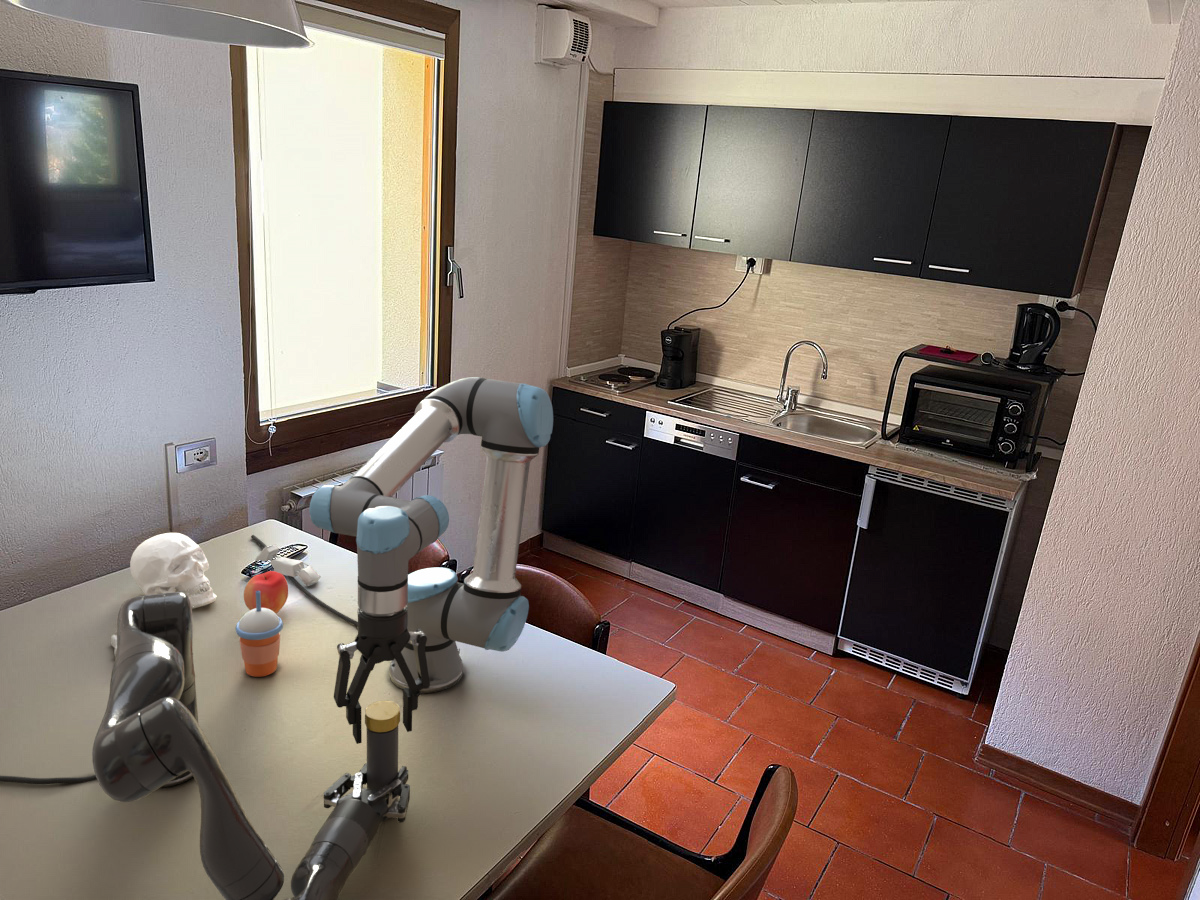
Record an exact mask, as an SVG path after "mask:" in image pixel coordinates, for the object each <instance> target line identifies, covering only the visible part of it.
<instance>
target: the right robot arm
mask: <svg viewBox="0 0 1200 900" xmlns="http://www.w3.org/2000/svg"><path fill="white" fill-rule="evenodd" d="M553 427H554V409H553V404H552V401H551V398H550V395H549V394H548V392H547V391H546V390H545V389H543V388H541V387H539V386H535V385H532V384H527V383H519V382H512V381H505V380H498V379H490V378H485V377H480V376H479V377H478V376H473V377H472V376H470V377H463V378H460V379H457V380H453V381H451V382H449V383H447V384H445V385H442V386H441V387H439V388H437V389H435V390H434V391H432V392H431V393H430V394H428V395H427V396H426V397H424V398H423V399H422V400H421V401H420V402H419V403H418V404H417V405H416V408H415V410H414V415H413V416H412V417H411V418H410V419H409V420H408V421H407V422H406V423H405V424H404V425H403V426H402V427H401V428H400V429H399V430H398V431H397V432H396V433H395V434H393V436H392V437H391V438H390V439H388V440H387V442H385V444H384V445H382V446H381V447H380V448H379V449H378V450H377V451H376V452H375V453H374V454H373V455H372V456H371V457H370V458H369V459H368V460H367V461H365V463H364V464H363V465H362V466H361V467H359V469H358V470H356V472H354V474H352V476H350V478H349V479H347V480H346V481H345V482H344V483H343V484H342V485H340V486H339V485H337V484H333V485H332V484H325V485H320V486H319V487H318V488H317V489H316V490H315V491H314V493H313V494H312V496H311V499H310V501H309V502H310V503H309V508H308V509H309V510H308V511H309V512H308V515H309V516H310V517H309V518H310V521H311V523H312V524H313V526H315V527H316V528H318V529H322V530H325V531H328V532H330V533H334V534H339V535H345V536H351V537H356V538H355V542H356V553H357V606H358V608H357V620H356V619H353V618H352V617H349V616H347V615H346V614H344V613H342V612H340V611H338V610H336V609H335V608H333V607H332V606H329V604H327V603H326V602H324V601H322V600H321V599H319V598H317V597H316V596H315V595H314V594H312V593H311V592H310V591H309V590H307V589H306V588H305V587H304V586H303V585H302V584H301V583H300V582H299V581H298V580H297V579H296V578H295V577H292V576H287V575H285V576H286V577H287V579H288V580H289V581H290V582H291V583H293V585H294V586H295V587H296V588H297V589H298V590H300V591H301V593H303V594H304V595H305V596H307V598H309V599H310V600H312V601H313V602H315V604H317V605H319V606H320V607H322V608H323V609H324V610H326V611H328V612H329V613H331V614H333V615H334V616H336V617H338V618H340V619H342V620H343V621H345V622H347V623H349V624H351V625H353V626H355V627H357V634H356V637H355V638H354V641H353V642H349V643H347V644H345V643H343V642H339V643H338V644H337V645H336V649H337V653H338V662H337V663H338V664H337V671H336V676H335V684H334V685H335V686H334V690H333V699H334V702H335V704H336V707H337V708H339V709H340V708H343V707H345V718H346V722H347V723H348V725H349V726H351V725H352V737H353V738H354V740H355V743H356V744H357V745H358V744H362V741H363V740H362V735H363V734H362V706H361V703H360V701H359V700H360V698H361V695H362V694H363V691H364V688H365V686H366V684H367V681H368V679H369V677H370V674H371V672H372V671H373V670H374V669H375V666H376V665H378V664H381V663H383V662H390V665H389V679H390V681H391V682H392V683H393V684H394V685H395V686H396V687H398V688H399V689H401V690H402V724H403V726H404V728H405V730H406V733H409V732H412V731H413V711H417V710H418V708H419V697H420V696H421V694H430V693H431V694H432V693H438V692H441V691H445V690H447V689H450V688H451V687H453V686H455V685H456V684H457V683H458V682H459V681H460V680H461V679H462V676H463V672H464V664H463V660H462V657H461V656H460V653H461V648H459V649H458V646H457V642H458V643H462V644H465V645H469V646H474V647H478V648H482V649H484V650H485V651H490V650H491V651H496V652H506V651H509V650H510V649H511V648H513V647H514V646H515V644H516V643H517V641H518V640H519V638H520V636H521V635H522V632H523V630H524V628H525V625H526V623H527V619H528V615H529V610H530V604H529V599H528V598H527V597H525V596H524V595H521V593H522V591H521V590H522V584H521V582H520V581H519V580H518V579H517V577H516V574H517V573H516V572H517V564H518V557H519V549H520V541H521V535H522V525H523V519H524V511H525V504H526V497H527V488H528V480H529V473H530V465H531V461H532V460H534V459H535V458H536V457H538V456H539V453H540V449H541V448H545V447H546V446H547V445H548V444H549V442H550V440H551V435H552V434H553V430H554V429H553ZM460 435H472V436H477V437H481V442H480V443H481V444H480V448H481V450H482V451H483V452H484V454H485V455H486V462H485V470H484V480H483V487H482V495H481V496H482V497H481V502H480V503H481V504H480V512H479V519H478V528H477V536H476V544H475V553H474V560H473V568H472V572H471V573H470V574H468V575H467V576H466V577H464V579H463V583H462V582H458V580H459V579H458V578H459V577H458V575H457V573H456V572H455V571H454V570H453V569H450V568H448V567H427V568H421V569H418V570H414V571H413V572H410V573H409V561H410V560H411V559H413V557H414V556H416V555H417V554H419V553H420V552H422V551H423V550H424V549H426V548H427V547H429V546H430V545H432V544H434V543H435V542H437V541H438V539H439V538H440V537H441V536H442V535H443V534H444V533H445V532H446V531H447V529H448V526H449V524H450V514H449V511H448V509H447V507H446V505H445V503H444V502H443V501H442V500H441V499H439V498H438V497H436V496H433V495H428V494H424V495H421V496H418V497H414V498H413V499H411V500H408V499H403V498H397V497H394V496H395V495H396V494H397V493H398V492H399V491H400V490H401V489H402V488H403V487H404V486H405V484H406V483H408V481H409V480H410V479H411V478H412V477H413V476H414V475H415V474H416V473H417V472H418V470H420V469H421V468H422V466H423V465H424V464H425V463H426V462H427V461H428V460H429V459H430V458H431V457H432V456H433V454H434V453H435V452H436V451H437V450H438V449H439V448H440V447H441V446H442V445H443V444H445V443H449V442H452V441H454V440H455V439H456V438H457V436H460ZM250 538H251V539H252V540H253V541H254V542H256V543H257V544H258V545H259V546H260V547H261V548H262V550H263V549H264V548H265V547H267V546H268V545H266V544H265V543H264V542H263V540H260V539H259V538H258V537H257V536H256V535H254V534H251V536H250ZM356 651H358V652H359V653H360V654H361V655H360V657H359V663H358V666H357V668H356V671H355V673H354V675H353V677H352V680H351V682H350V685H349V678H350V672H351V660H353V658H354V656H355V652H356ZM348 685H349V687H348Z"/></svg>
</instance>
